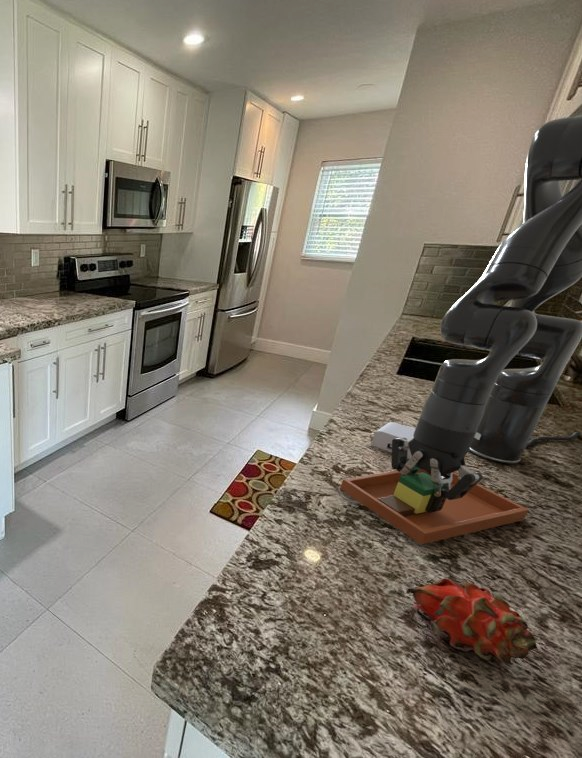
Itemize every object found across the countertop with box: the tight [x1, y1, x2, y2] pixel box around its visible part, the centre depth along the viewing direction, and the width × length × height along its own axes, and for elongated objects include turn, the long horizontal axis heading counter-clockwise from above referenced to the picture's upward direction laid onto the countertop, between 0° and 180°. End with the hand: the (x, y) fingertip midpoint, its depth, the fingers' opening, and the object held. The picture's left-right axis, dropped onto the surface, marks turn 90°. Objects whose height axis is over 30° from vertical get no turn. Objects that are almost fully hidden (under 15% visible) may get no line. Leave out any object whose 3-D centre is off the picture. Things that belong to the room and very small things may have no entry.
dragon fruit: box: [405, 577, 538, 666], centre depth 51 cm, size 8×8×12 cm
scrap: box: [378, 496, 415, 517], centre depth 75 cm, size 4×4×2 cm
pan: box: [339, 469, 530, 545], centre depth 78 cm, size 26×16×3 cm, turn 106°
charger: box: [370, 421, 416, 460], centre depth 99 cm, size 5×9×15 cm
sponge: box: [393, 472, 433, 514], centre depth 76 cm, size 6×4×5 cm
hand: (416, 501), depth 76 cm, fingers closed on sponge, 4 cm apart
